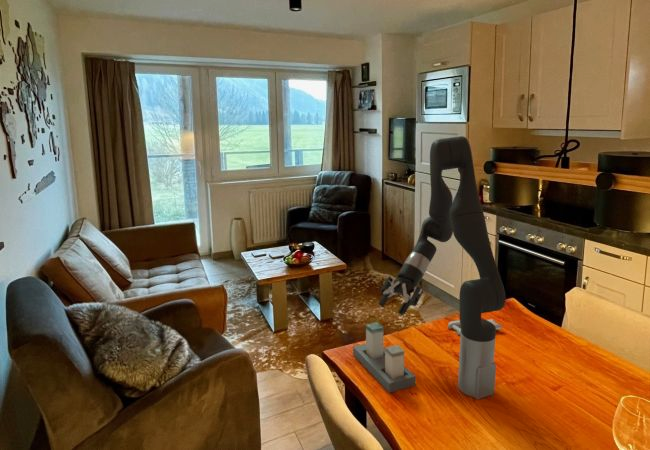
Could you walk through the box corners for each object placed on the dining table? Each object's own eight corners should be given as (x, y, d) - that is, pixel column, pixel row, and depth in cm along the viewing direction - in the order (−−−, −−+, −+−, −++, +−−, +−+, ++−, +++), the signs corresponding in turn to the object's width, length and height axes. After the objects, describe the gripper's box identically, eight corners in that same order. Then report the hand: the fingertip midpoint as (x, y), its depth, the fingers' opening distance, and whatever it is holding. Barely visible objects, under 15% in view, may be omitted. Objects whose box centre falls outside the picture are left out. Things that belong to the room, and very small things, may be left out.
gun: (488, 312, 166) (504, 324, 156) (488, 320, 167) (503, 332, 157) (444, 320, 163) (457, 332, 153) (444, 328, 164) (457, 341, 154)
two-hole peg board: (415, 385, 127) (416, 352, 125) (389, 392, 124) (389, 360, 122) (376, 348, 148) (376, 320, 146) (353, 354, 145) (352, 326, 142)
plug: (383, 361, 140) (383, 327, 137) (372, 364, 138) (372, 329, 135) (376, 355, 143) (376, 321, 140) (366, 358, 141) (366, 324, 139)
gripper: (393, 258, 148) (369, 298, 144) (426, 267, 137) (401, 311, 133) (403, 269, 153) (380, 308, 149) (436, 279, 142) (412, 322, 138)
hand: (390, 309), depth 141 cm, fingers open, 8 cm apart
